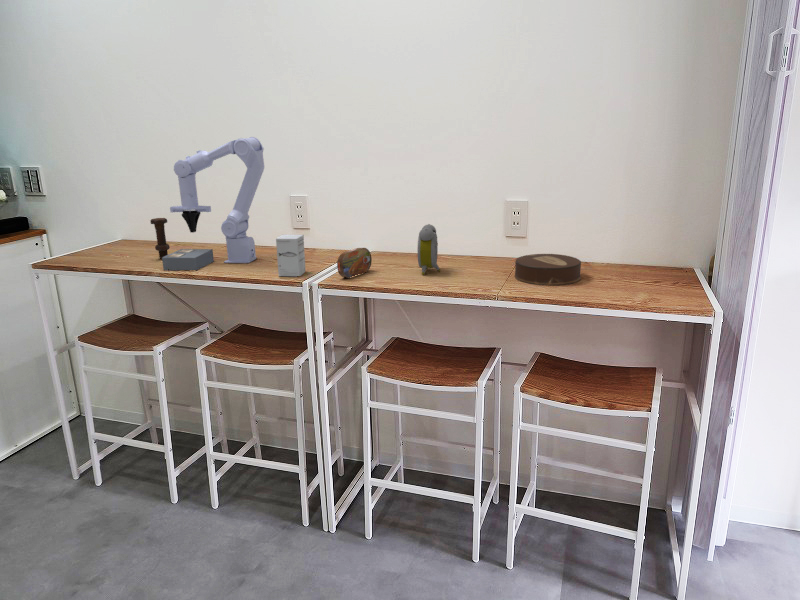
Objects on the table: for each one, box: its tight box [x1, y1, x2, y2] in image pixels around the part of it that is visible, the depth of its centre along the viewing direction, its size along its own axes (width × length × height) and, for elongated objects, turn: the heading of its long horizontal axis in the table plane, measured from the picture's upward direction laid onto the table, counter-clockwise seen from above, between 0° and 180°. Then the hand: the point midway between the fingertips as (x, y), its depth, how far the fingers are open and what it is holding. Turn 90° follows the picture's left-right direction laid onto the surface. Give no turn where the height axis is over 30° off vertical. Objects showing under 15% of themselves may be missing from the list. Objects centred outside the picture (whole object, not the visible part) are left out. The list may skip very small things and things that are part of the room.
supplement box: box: [275, 234, 306, 277], centre depth 207 cm, size 7×7×13 cm
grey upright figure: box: [417, 223, 442, 276], centre depth 204 cm, size 12×7×15 cm, turn 171°
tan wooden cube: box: [178, 250, 194, 253], centre depth 227 cm, size 4×4×4 cm
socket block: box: [161, 248, 215, 271], centre depth 223 cm, size 12×14×4 cm
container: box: [514, 253, 582, 287], centre depth 195 cm, size 20×20×6 cm
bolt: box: [149, 217, 170, 260], centre depth 234 cm, size 6×5×15 cm
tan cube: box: [168, 254, 185, 257], centre depth 220 cm, size 4×4×4 cm
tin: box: [336, 247, 372, 279], centre depth 204 cm, size 15×3×8 cm, turn 145°
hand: (193, 232), depth 230 cm, fingers closed
